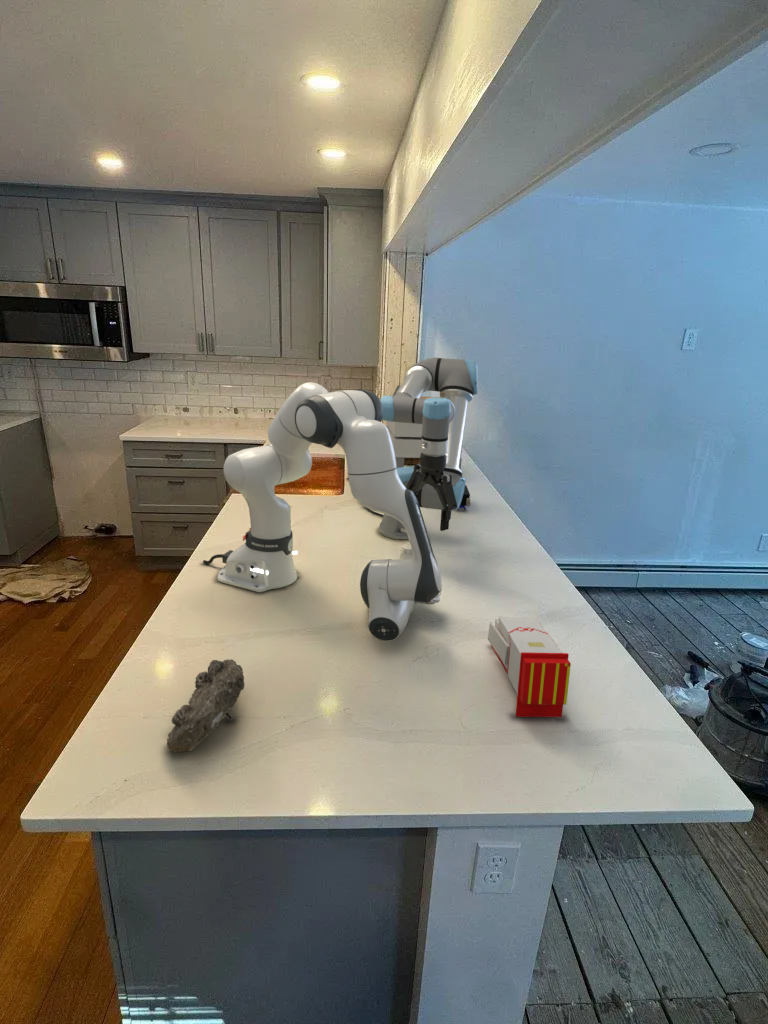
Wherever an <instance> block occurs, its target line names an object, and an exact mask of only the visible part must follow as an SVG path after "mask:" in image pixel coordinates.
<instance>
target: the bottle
mask: <svg viewBox="0 0 768 1024" xmlns="http://www.w3.org/2000/svg"><path fill="white" fill-rule="evenodd" d="M413 558H414V556H413V552H412V549H411V545H410V543H404V544H402V545H401V549H400V551H399V559H413Z"/></svg>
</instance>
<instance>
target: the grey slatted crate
mask: <svg viewBox="0 0 768 1024" xmlns="http://www.w3.org/2000/svg"><path fill="white" fill-rule="evenodd" d="M400 386H401V385H399V384H398V385H397V386H396V388H395V390H394V392H393V394H392V396H394V395H395V393H396V392H397V390H398V389H399V387H400ZM420 398H422V399H427V398H441V397H440V396H421V397H420ZM385 423H386V427H387V428H388V430H389V433H390V436H391V440H392V443H393V447H394V452H395V457H396V464H397V468H401V467H405V466H406V467H414V465H416V464H420V454H421V453H422V452H421V440H422V424H415V423H402V422H390V421H385ZM463 442H464V440H462V444H463ZM462 453H463V446H462V447H461V455H460V462H459V469H460V470H461V471H462V461H463V460H462Z"/></svg>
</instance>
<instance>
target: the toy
mask: <svg viewBox="0 0 768 1024" xmlns="http://www.w3.org/2000/svg"><path fill="white" fill-rule="evenodd" d="M488 625H489V627H488V633H487V641H488V642H489V644H490V646H491V647H490V648H491V649H492V650H493V652H494V654H495V656H496V658H497V659H498V660H499V662H500V664H501V666H502V668H503V669H504V671H505V673H506V674H507V676H508V678H509V680H510V682H511V685H512V686H513V689H514V690H515V693H516V704H515V717H516V718H517V717H518V718H519V717H520V718H521V717H522V718H563V710H564V705H567V701H568V692H569V685H570V684H569V683H570V676H571V675H570V674H571V666H572V664H571V661H570V660H569V655H570V654H569V653H568V652H563V651H562V649H561V648H560V647H559V646H558V644H557V643H556V642H555V640H554V639H553V638H552V636H551V635H550V634H549V632H548V631H547V629H546V628H545V627H544V626H543V624H542V622H541V621H540V620H539V619H538V618H537V616H498V618H496V619H494V623H493V622H489V624H488Z"/></svg>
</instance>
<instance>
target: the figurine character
mask: <svg viewBox="0 0 768 1024" xmlns="http://www.w3.org/2000/svg"><path fill="white" fill-rule="evenodd" d="M466 507H468V508H470V507H471V493H470V491H469V488H468V486H467V485H466V484H465V488H464V493H463V497H462V500H461V503H460V506H459V508H458V509H457V510H456V511H459V510H460V509H463V511H465V512H466V511H467V508H466Z"/></svg>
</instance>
